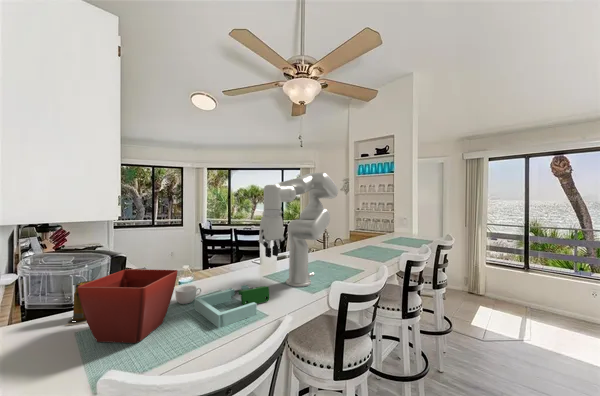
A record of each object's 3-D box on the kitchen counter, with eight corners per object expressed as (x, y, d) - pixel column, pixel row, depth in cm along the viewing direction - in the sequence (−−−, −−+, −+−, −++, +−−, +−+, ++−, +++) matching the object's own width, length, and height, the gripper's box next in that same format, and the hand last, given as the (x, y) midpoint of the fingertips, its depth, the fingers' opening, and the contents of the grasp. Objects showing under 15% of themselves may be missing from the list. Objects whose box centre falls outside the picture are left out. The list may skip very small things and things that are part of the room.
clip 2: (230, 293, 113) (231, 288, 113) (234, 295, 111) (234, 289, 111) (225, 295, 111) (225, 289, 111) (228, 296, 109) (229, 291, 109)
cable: (250, 288, 119) (250, 286, 119) (256, 291, 115) (256, 289, 115) (196, 302, 102) (196, 300, 102) (202, 306, 98) (202, 304, 98)
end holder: (229, 299, 106) (229, 289, 106) (256, 314, 92) (256, 303, 92) (194, 309, 96) (194, 298, 96) (218, 328, 82) (218, 315, 82)
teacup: (178, 307, 98) (178, 293, 98) (172, 301, 103) (172, 288, 103) (204, 300, 104) (204, 287, 104) (197, 295, 110) (197, 282, 110)
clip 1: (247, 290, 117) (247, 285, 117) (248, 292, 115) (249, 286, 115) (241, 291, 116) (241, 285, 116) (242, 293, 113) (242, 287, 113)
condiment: (100, 312, 93) (100, 278, 93) (93, 322, 85) (94, 285, 85) (74, 315, 90) (75, 281, 90) (64, 326, 82) (65, 288, 82)
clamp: (260, 309, 107) (266, 287, 111) (266, 311, 102) (272, 287, 106) (233, 303, 102) (240, 279, 106) (238, 304, 97) (246, 279, 101)
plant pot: (123, 317, 89) (124, 268, 89) (178, 318, 88) (179, 269, 89) (73, 348, 70) (75, 286, 70) (142, 350, 69) (143, 288, 70)
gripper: (281, 212, 119) (280, 252, 119) (251, 213, 108) (250, 257, 108) (292, 213, 114) (291, 255, 114) (261, 214, 102) (261, 260, 102)
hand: (271, 255), depth 111 cm, fingers open, 3 cm apart
